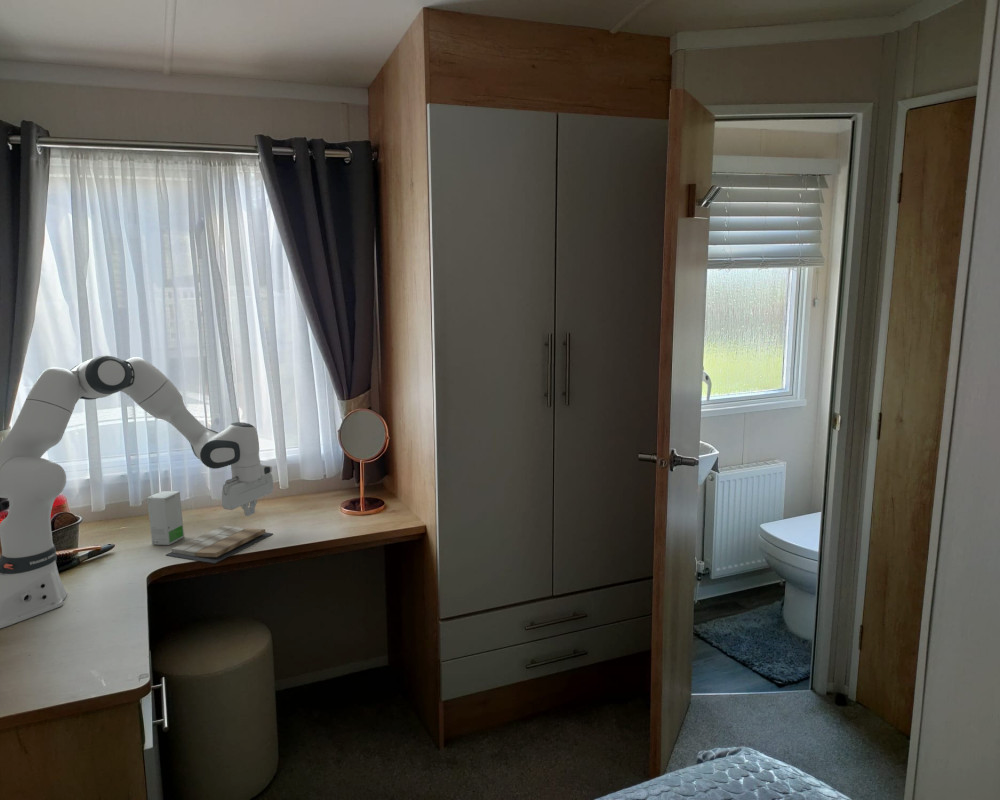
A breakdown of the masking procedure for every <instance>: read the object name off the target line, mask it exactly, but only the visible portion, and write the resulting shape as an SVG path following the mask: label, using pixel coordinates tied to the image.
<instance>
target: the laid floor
mask: <svg viewBox="0 0 1000 800" xmlns="http://www.w3.org/2000/svg"><path fill="white" fill-rule="evenodd" d="M244 529H245V527H237V526H236V527H235V526H230V525H229V526H228V525H221V526H220V527H217V528H215V529H213V530H210V531H208V532H207V533H204V534H202V535H200V536H197V537H195V538H193V539H191V540H188V541H186V542H184V543H181V544H179V545H177V546H175V547H173V548H171V552H172V553H178V554H184V555H190V556H196V554H195V552H197V551H200V550H202V549H204V548H206V547H208V546H210V545H212V544H214V543H216V542H219V541H221V540H223V539H225V538H227V537H229V536H231V535H233V534H236V533H238V532H240V531H242V530H244Z"/></svg>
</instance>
